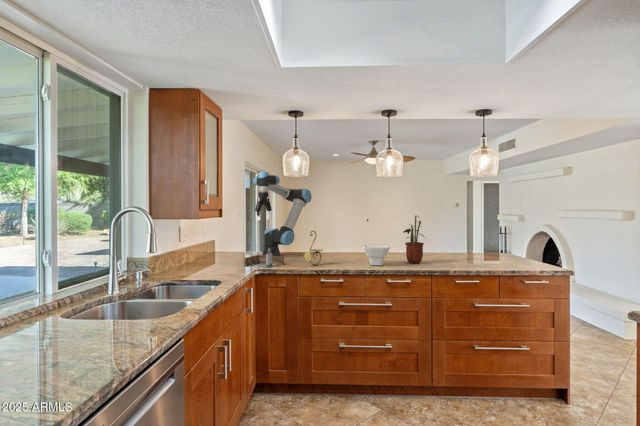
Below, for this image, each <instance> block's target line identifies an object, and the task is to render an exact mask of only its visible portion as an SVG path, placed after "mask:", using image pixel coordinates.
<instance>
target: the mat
mask: <svg viewBox="0 0 640 426" xmlns="http://www.w3.org/2000/svg"><path fill="white" fill-rule="evenodd" d="M274 266H275V264H272V266H270V267H262V269H263V268H264V269H271V268H274Z"/></svg>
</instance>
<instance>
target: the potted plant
mask: <svg viewBox="0 0 640 426" xmlns="http://www.w3.org/2000/svg"><path fill="white" fill-rule="evenodd" d="M417 218H419V221H417ZM417 222H418V224H417ZM421 223H422V221H421V217H420V216H419V215H414V226H413V224H412V223H409V225H410V228H407V229H405V230H404V231H402V233H407V235H409V233H410V236H407V237H406V239H408V238H409V239H410V240H409V241H407V242H405V243H404V244H405V248H406V249H405V253H406V255H405V256H406V260H407V262H408V263H409V264H411V263H412V264H413V265H418V264H420V263H421V262H422V260H423V255H424V254H423V253H424V249H423V248H424V244H425V243H424V242H419V241H418V238H419V235H420V236H422V237H423V238H424V239H426V237H425V236H424V235H423V234H422V233H419V231H420V227H422V228H423V226H422V225H421ZM417 225H418V226H417Z"/></svg>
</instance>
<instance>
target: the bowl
mask: <svg viewBox="0 0 640 426" xmlns="http://www.w3.org/2000/svg"><path fill="white" fill-rule="evenodd" d="M362 248H363V251H364V253H365V254H366V256H367V258H368V261H369V264H370V265H371V266H383V264H384V261H385V258H386V257H387V255H388V254H389V253H388V252H389V251H390V249H391V246H390V245H389V244H363V245H362Z"/></svg>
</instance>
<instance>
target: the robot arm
mask: <svg viewBox="0 0 640 426" xmlns="http://www.w3.org/2000/svg"><path fill="white" fill-rule="evenodd" d="M252 180H253V184H254V185H255V186H258V197H257V200H256V201H257V202H256V204H255V210H254V211H255V212H256V221H261V219H262V217H261V215H262V213H261V209H262V208H263V206H264V207H265V209H266V212H265V213H266V220H267V221H268V220H271V212H272V210H273V209H272V206H271V202H270V200H271V199H270V198H269V191H270V192H272V193H275V194H277V195H279V196H280V197H281V198H282V199H284V200H286V201H288V202H291V203H293V204H292V206H291V208H290V210H289V213H288V215H287V218H286V219H285V222H284V224H283V225H281V226H280V228H278V227H277V228H269V229H265V230H264V233H263V239H264V245H263V246H264V247H263V251H262V254H261V255H266V254H269V253H272V256H282V255H281V251H280V247H279V245H280V246H289V245H291V244H293V243H294V240H295V231H294V229H295V226H296V223H297V222H298V221H299V220H298V219H299V217H300V215H301V213H302V211H303V208H305V207H306V206H307V203H311V200H312V198H313V197H312V196H313V195H312V192H311V190H310V189H308V188H296V189H295V188H288V187H284V186H282V185H280V181H281V179H280V177H279V176H278V175H275V174H274V175H273V174H269V172H268V171H259V172H258V175H257V176H255V177H253V179H252Z"/></svg>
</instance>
